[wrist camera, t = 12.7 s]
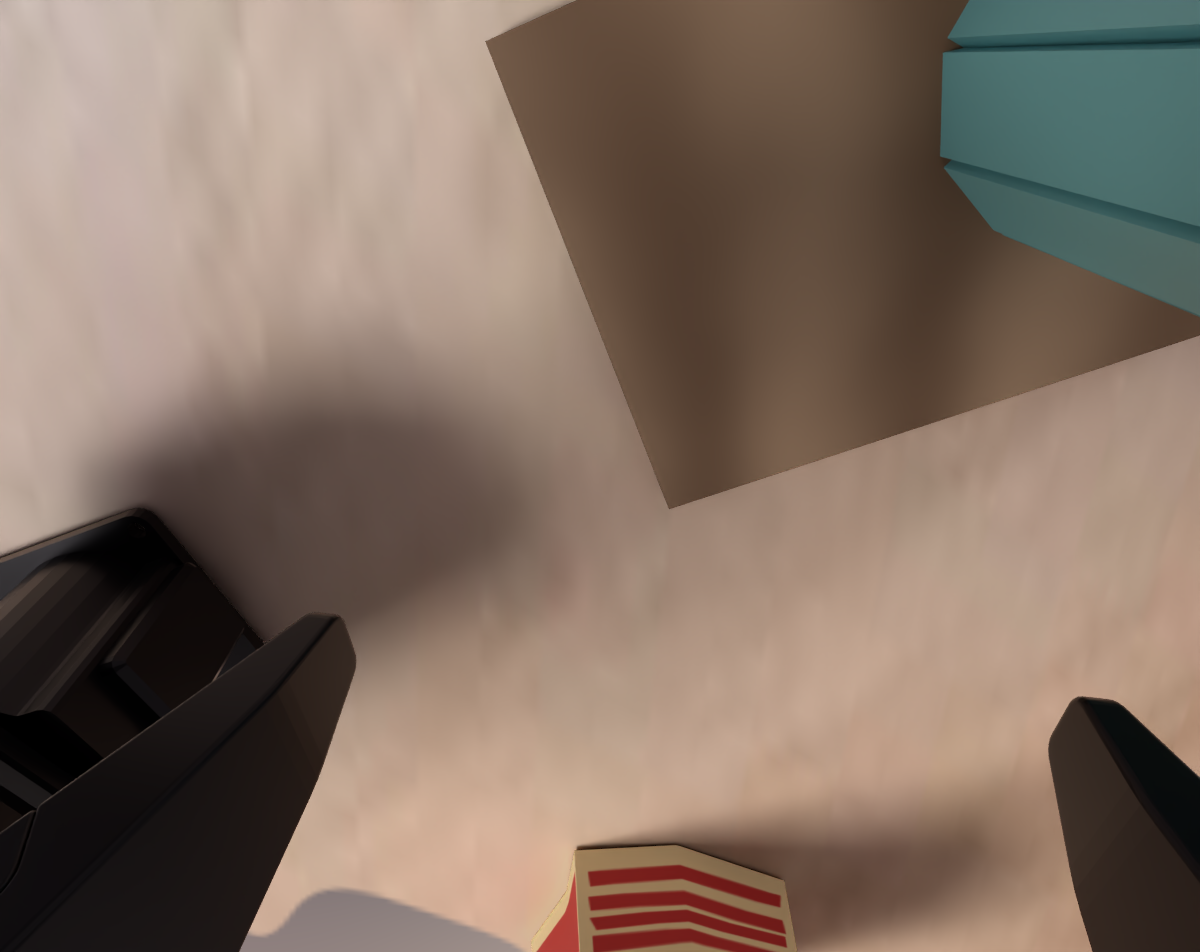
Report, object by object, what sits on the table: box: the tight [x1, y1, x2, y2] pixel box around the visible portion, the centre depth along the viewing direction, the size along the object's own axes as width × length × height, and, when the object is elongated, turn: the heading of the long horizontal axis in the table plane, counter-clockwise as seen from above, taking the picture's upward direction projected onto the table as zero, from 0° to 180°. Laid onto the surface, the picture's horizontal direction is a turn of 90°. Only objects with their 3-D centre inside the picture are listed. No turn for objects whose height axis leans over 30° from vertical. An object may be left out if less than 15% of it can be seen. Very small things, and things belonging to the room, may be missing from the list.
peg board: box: [485, 0, 1200, 509], centre depth 15 cm, size 16×12×5 cm
